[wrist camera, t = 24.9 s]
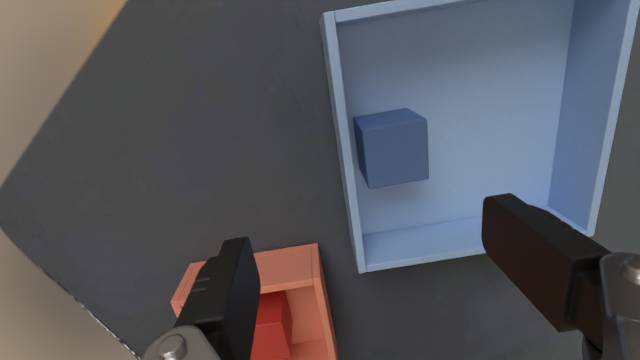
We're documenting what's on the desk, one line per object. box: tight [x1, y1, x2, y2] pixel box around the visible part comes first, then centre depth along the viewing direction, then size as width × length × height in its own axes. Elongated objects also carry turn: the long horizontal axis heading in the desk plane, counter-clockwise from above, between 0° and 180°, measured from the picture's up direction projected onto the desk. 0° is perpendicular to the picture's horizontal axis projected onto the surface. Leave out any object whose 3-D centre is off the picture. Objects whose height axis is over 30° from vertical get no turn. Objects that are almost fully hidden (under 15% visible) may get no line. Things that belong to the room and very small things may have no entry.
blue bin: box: [319, 0, 640, 273], centre depth 22 cm, size 17×17×5 cm
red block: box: [250, 290, 293, 360], centre depth 28 cm, size 4×4×4 cm
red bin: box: [171, 243, 338, 360], centre depth 28 cm, size 11×11×5 cm
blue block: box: [353, 108, 429, 189], centre depth 22 cm, size 4×4×4 cm
